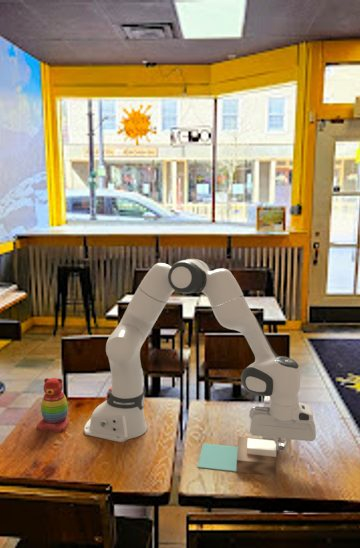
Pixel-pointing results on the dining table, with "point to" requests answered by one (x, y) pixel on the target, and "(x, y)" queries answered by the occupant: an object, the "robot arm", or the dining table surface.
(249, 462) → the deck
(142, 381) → the robot arm
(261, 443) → the cream rectangular block
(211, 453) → the mat
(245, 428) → the dining table surface
